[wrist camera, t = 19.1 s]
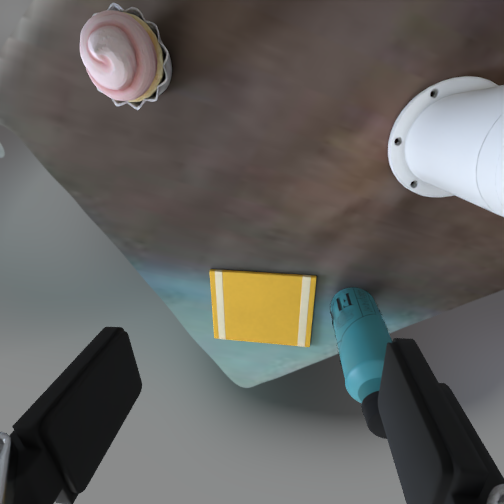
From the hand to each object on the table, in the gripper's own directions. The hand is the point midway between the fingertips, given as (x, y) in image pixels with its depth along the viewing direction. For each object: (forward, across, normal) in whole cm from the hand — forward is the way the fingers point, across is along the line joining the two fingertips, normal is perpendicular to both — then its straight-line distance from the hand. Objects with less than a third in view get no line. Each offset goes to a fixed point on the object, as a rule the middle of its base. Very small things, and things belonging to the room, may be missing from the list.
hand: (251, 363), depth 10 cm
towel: (+31, +4, +19) cm, 36 cm away
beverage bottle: (+31, -10, +17) cm, 36 cm away
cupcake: (+31, +16, -15) cm, 38 cm away
